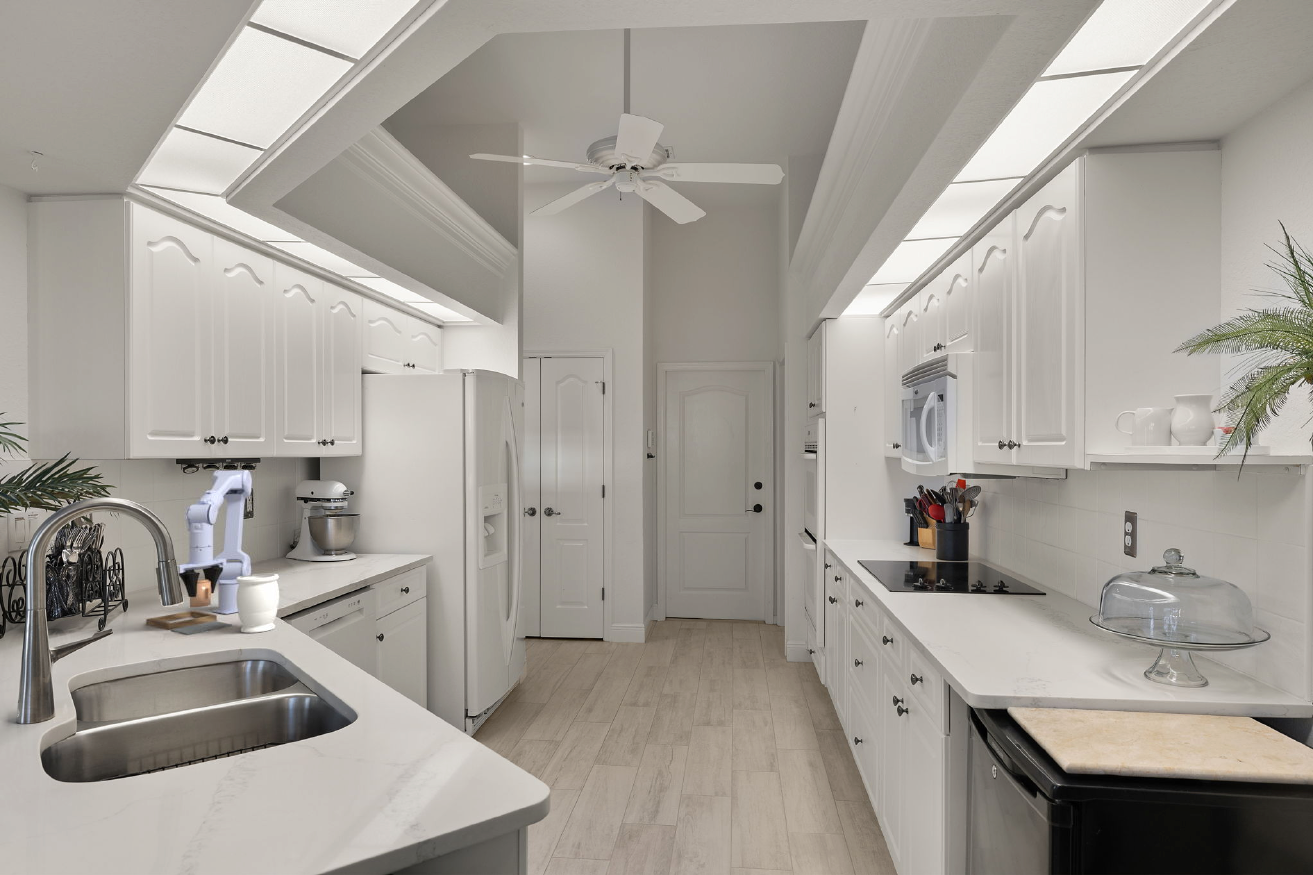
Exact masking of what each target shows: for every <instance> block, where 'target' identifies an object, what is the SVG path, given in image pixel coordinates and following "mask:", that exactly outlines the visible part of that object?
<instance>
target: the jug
mask: <svg viewBox="0 0 1313 875" xmlns="http://www.w3.org/2000/svg"><path fill="white" fill-rule="evenodd" d="M211 599H212V593H211V581H209V580H208V579H205V578H204V579H201V578H200V579H198V582H197V594H196V597H189V607H190V608H203V607H208V606H210V605H211V606H212V604H211V603H212V600H211Z"/></svg>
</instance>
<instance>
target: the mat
mask: <svg viewBox="0 0 1313 875" xmlns="http://www.w3.org/2000/svg"><path fill="white" fill-rule="evenodd" d="M232 624H233V623H232ZM232 624H231V623H227V622H222V621H218V620H217V621H212V622H206V623H201V624H196V625H191V626H186V627H181V628H176V629H171V630H170V631H171V632H174V633H178V634H180V635H181V634H182V635H186V636H188V635H189V636H190V635H193V634H199V633H204V632H207V631H208V632H209V631H213V630H218V629H223V628H227V627H232V626H233V625H232Z"/></svg>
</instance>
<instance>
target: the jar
mask: <svg viewBox="0 0 1313 875" xmlns="http://www.w3.org/2000/svg"><path fill="white" fill-rule="evenodd" d="M279 577H280V575H279V574H277V573H254V574H253V573H252V574H251V575H245V576H240V577H237V582H238V583H239V586H238V589H237V598H236V600H237V608H238V612H237V613H238V618H239V621H240V623H241V624H242V627H241V628H240V632H242V633H246V634H255V633H256V634H257V633H264V632H265V633H266V632H269V631H272V630H274V629H275V628H276V625H275V624H274V621H275V619H276V617H277V613H278V608H279V602H280V591H279V590H280V589H279V584H278V579H279Z"/></svg>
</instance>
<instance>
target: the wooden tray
mask: <svg viewBox="0 0 1313 875" xmlns="http://www.w3.org/2000/svg"><path fill="white" fill-rule="evenodd" d="M217 617H218V616H217V614H212V613H208V612H203V611H199V610H198V611H197V610H189V611H183V612H178V613H172V614H165V615H162V616H155V617H150V618H146V619H145V621H146V622H145V623H146V624H145V625H147V626H151V627H154V628H160V629H163V630H168V631H171V629H176V628H181V627H186V626H192V625H197V624H202V623H207V622H212V621H218V619H217ZM188 618H191V619H188ZM182 619H183V620H182ZM177 620H178V621H177ZM179 620H180V621H179ZM172 621H174V622H172Z"/></svg>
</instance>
